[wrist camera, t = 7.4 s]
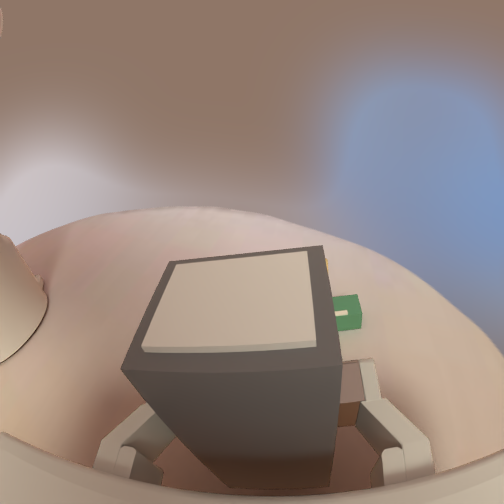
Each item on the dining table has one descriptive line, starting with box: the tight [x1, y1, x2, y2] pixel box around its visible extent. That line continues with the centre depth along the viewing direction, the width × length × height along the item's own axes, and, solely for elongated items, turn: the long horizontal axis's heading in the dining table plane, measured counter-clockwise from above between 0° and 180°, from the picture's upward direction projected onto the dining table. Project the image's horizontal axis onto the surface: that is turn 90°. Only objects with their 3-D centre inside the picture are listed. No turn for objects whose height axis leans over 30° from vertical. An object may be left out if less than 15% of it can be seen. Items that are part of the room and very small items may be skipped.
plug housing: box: [121, 245, 343, 489], centre depth 10 cm, size 4×4×10 cm
